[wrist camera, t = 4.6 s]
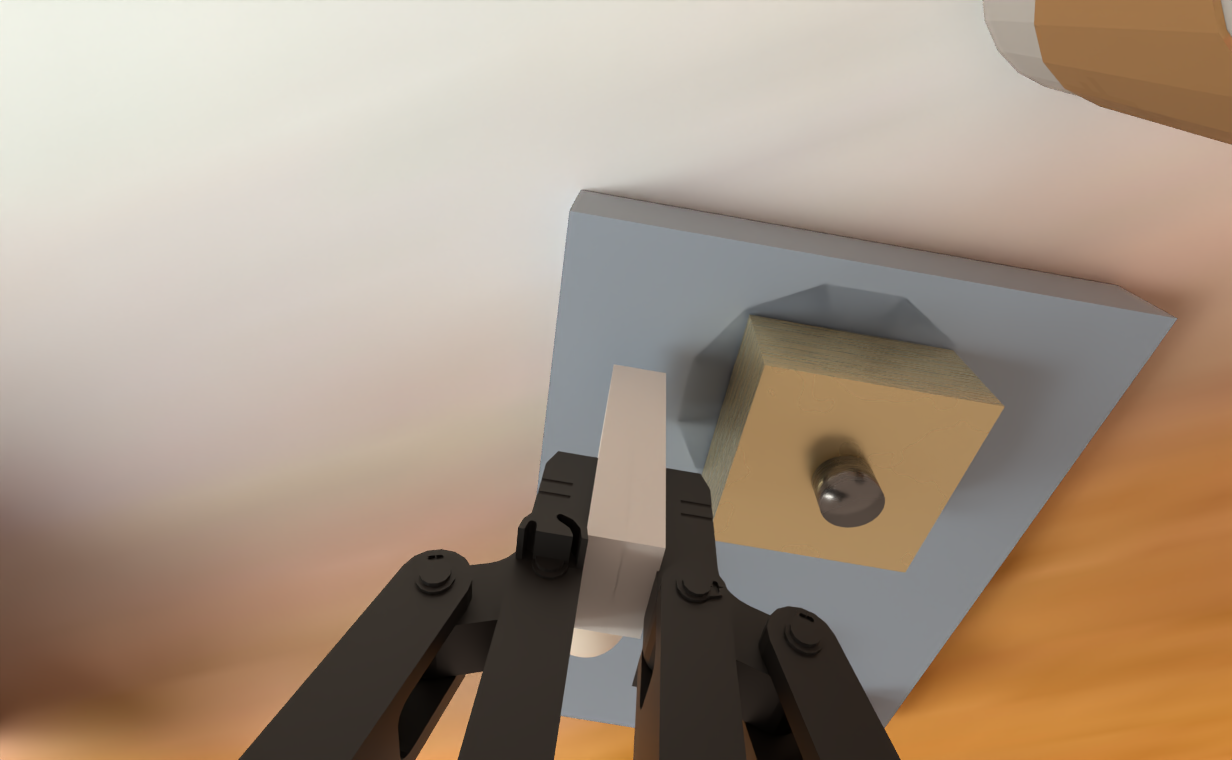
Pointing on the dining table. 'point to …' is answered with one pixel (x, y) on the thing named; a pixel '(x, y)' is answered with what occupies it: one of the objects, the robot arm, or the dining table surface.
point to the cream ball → (592, 643)
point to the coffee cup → (1127, 55)
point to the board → (858, 303)
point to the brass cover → (841, 443)
